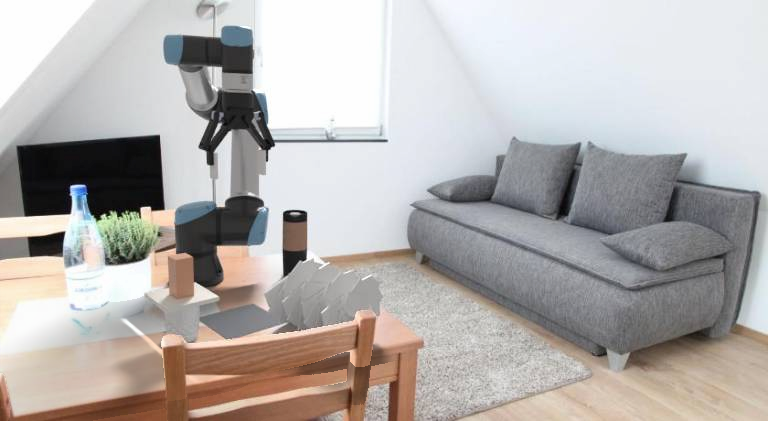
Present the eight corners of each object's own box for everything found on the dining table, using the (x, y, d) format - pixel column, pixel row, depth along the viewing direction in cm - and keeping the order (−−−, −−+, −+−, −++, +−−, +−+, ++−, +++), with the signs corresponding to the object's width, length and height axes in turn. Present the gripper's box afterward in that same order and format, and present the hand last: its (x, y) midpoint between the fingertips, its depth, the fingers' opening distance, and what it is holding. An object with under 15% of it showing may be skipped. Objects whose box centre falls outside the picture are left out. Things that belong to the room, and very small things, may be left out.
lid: (144, 297, 126) (142, 254, 124) (195, 286, 134) (194, 246, 132) (166, 313, 117) (164, 268, 115) (219, 300, 125) (218, 258, 123)
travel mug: (294, 268, 181) (295, 208, 177) (311, 273, 177) (312, 212, 173) (277, 274, 175) (277, 212, 171) (294, 279, 171) (295, 216, 167)
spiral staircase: (301, 331, 145) (379, 355, 130) (252, 322, 131) (333, 348, 116) (320, 262, 148) (398, 279, 133) (275, 246, 134) (356, 263, 119)
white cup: (189, 349, 123) (188, 307, 121) (157, 345, 125) (155, 303, 123) (207, 335, 131) (206, 294, 129) (177, 331, 132) (175, 291, 130)
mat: (196, 321, 138) (195, 318, 138) (252, 306, 149) (252, 303, 149) (228, 343, 127) (228, 340, 127) (287, 325, 138) (287, 322, 138)
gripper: (196, 90, 127) (199, 182, 131) (288, 93, 144) (288, 174, 148) (182, 89, 132) (185, 178, 137) (272, 92, 149) (272, 171, 154)
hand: (238, 176), depth 142 cm, fingers open, 13 cm apart
